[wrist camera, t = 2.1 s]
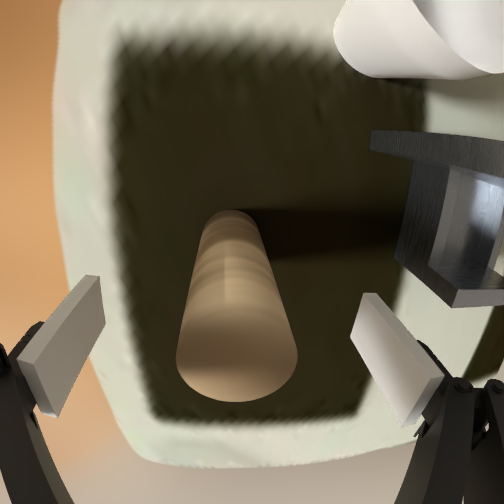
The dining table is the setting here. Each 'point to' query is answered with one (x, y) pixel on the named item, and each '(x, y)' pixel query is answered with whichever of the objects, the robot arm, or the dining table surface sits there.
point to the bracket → (451, 213)
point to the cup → (422, 38)
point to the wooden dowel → (234, 316)
